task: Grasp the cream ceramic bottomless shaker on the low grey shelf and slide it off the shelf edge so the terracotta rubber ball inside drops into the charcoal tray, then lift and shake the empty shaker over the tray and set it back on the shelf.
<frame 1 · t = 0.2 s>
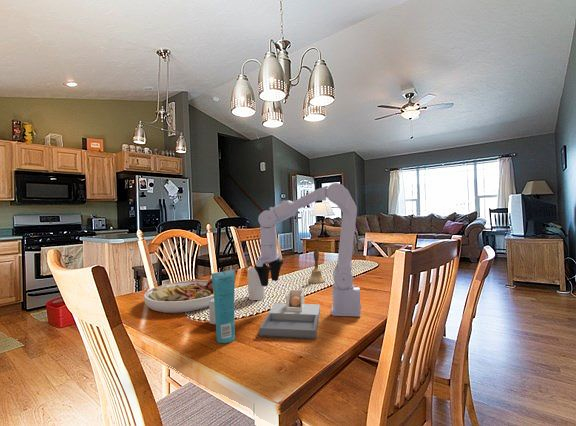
hand: (269, 283, 107), 10 cm above the table, tool pointing down, fingers open, 7 cm apart
hand bell: (316, 281, 147), on the table
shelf: (295, 315, 102), on the table
bowl: (186, 302, 120), on the table
tray: (290, 329, 91), on the table
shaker: (295, 307, 103), point 2 cm above the table, touching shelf
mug: (255, 297, 123), on the table
ball: (295, 301, 103), point 4 cm above the table, touching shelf
tube: (225, 340, 85), on the table
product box: (222, 321, 98), on the table
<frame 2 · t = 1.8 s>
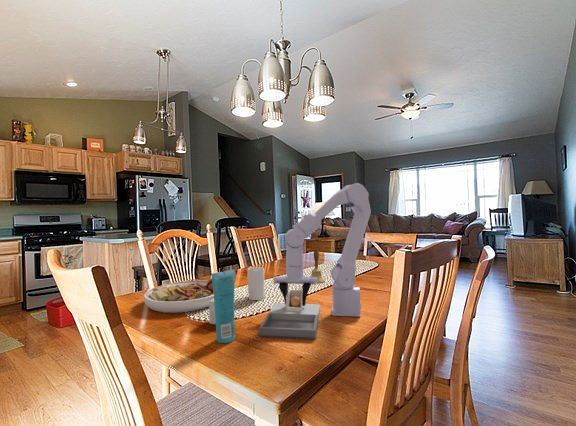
hand: (295, 304, 103), 3 cm above the table, tool pointing down, fingers closed on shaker, 5 cm apart
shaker: (295, 307, 103), point 2 cm above the table, touching gripper, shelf
everything else where it was.
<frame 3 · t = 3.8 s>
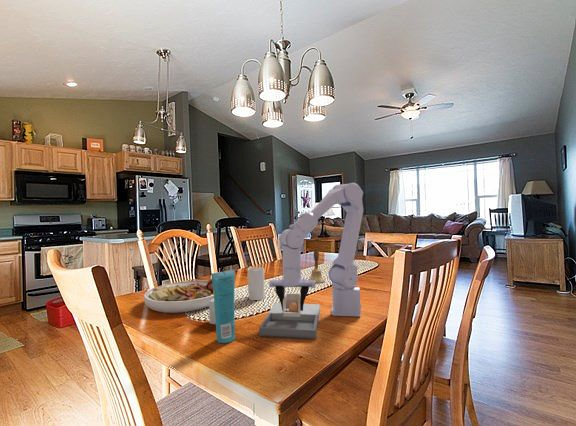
hand: (292, 309, 96), 4 cm above the table, tool pointing down, fingers closed on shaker, 5 cm apart
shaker: (292, 312, 97), point 3 cm above the table, touching gripper
ball: (293, 307, 98), point 4 cm above the table, tilted 161°, touching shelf
everything else where it was.
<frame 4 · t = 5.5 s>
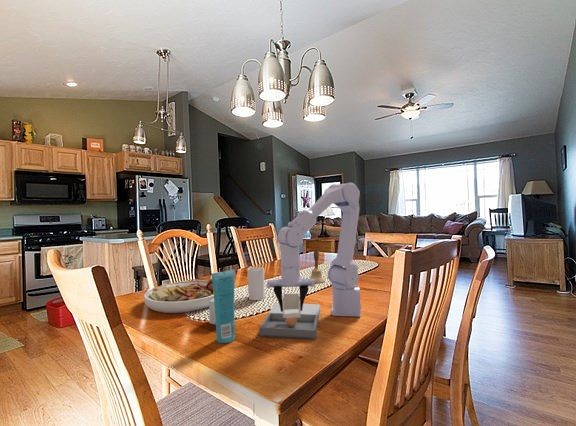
hand: (291, 310, 93), 5 cm above the table, tool pointing down, fingers closed on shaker, 5 cm apart
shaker: (291, 313, 93), point 4 cm above the table, touching gripper
ball: (291, 320, 92), point 2 cm above the table, tilted 65°, touching tray
everything else where it was.
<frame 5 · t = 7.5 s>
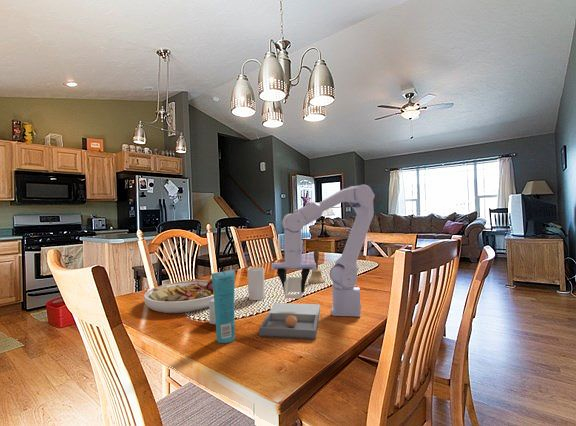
hand: (294, 291, 99), 9 cm above the table, tool pointing down, fingers closed on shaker, 5 cm apart
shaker: (294, 294, 99), point 8 cm above the table, touching gripper
everything else where it was.
when the fingers open (4 cm above the table, at t = 9.1 s): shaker stays where it is, resting on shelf.
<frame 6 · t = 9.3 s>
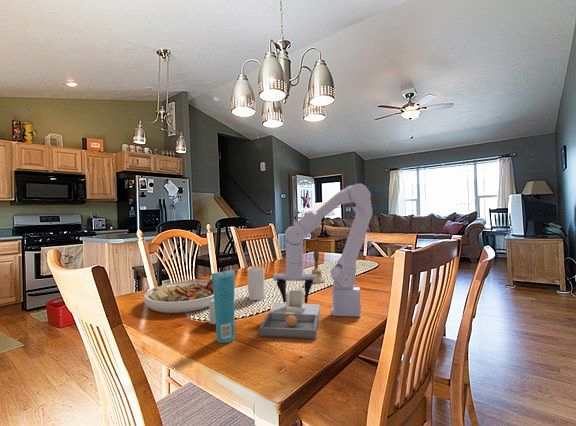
hand: (295, 301, 102), 4 cm above the table, tool pointing down, fingers open, 7 cm apart
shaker: (295, 307, 102), point 2 cm above the table, touching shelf
everything else where it was.
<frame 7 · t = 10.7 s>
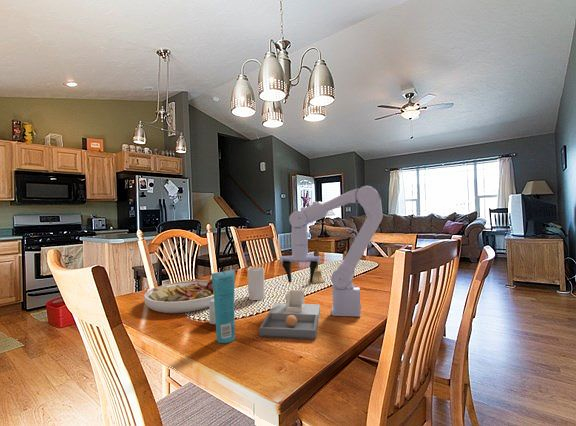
hand: (300, 282, 109), 9 cm above the table, tool pointing down, fingers open, 7 cm apart
nothing on the table moved.
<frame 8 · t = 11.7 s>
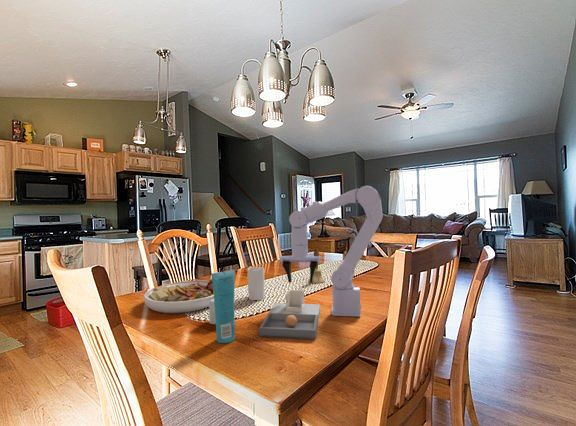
hand: (300, 282, 109), 9 cm above the table, tool pointing down, fingers open, 7 cm apart
nothing on the table moved.
at the end: ball inside the target area on the tray (0.7 cm from its centre), point 2.2 cm above the tray's base; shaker tilted 0°; the gripper is holding nothing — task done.
